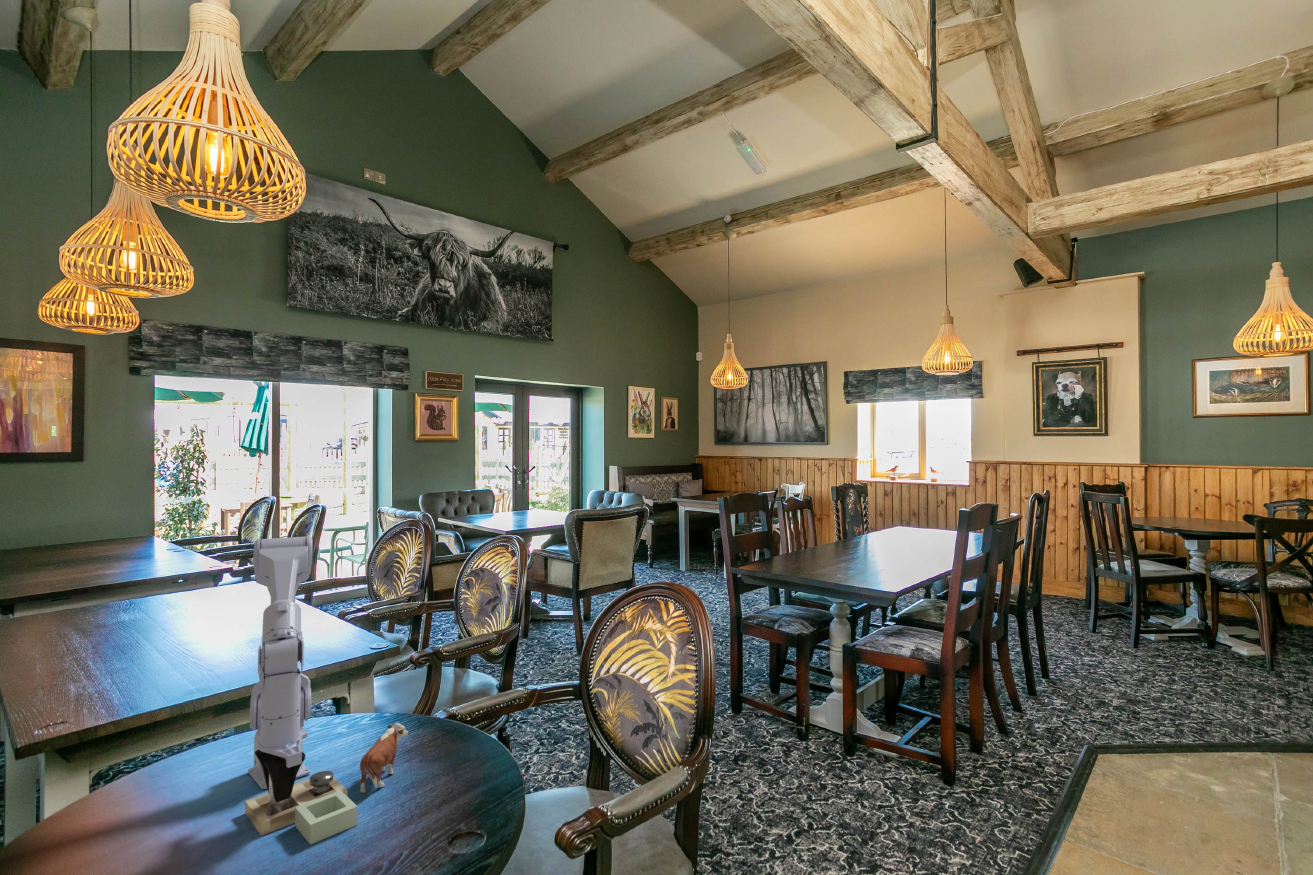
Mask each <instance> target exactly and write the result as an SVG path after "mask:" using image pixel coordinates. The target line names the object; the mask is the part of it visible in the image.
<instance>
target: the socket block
mask: <svg viewBox="0 0 1313 875" xmlns="http://www.w3.org/2000/svg"><path fill="white" fill-rule="evenodd" d="M313 789H314V786H311V785H310V778H307V779H304V780H301V781H299V782H296V783H295V782H294V786H293V790H292V794H291V797H290V809H287V810H284V811H282V812H279V813H276V814H274V815H271V816H268V814H269V792H268V793H265V794H264V793H263V794H261V795H258V796H256V797H253V798H250V799H247V800H245V802H244V805H245V806H244V813H245V815H246V816H247V818H248V819H249V821H250V822H251V824H252V825H253V827H254V828H255V829H256V831H257V832H258V834H259V835H260V836H264V835H267V834H269V833H272V832H275V831H277V830H279V829H283V828H284V827H287V826H290V825H293V824H295V807H297V806H300V805H303V804H305V803H308V802H310V801H313V800H316V799H318V798H321V797H324V796H326V795H329V794H332V793H334V792H337V791H340V790H341V791H342V792H343V793H344V794H345V795H346V796H347V797H348V789H347V788H346V787H345V786H343V785H342V784H341V783H340V782H339V781H338V780H337V779H336V778H334V776H333V780H332V781H331V782H330V783H329V792H327V793H324V794H321V795H319V796H316V797H314V796H313Z"/></svg>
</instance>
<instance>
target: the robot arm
mask: <svg viewBox="0 0 1313 875" xmlns="http://www.w3.org/2000/svg"><path fill="white" fill-rule="evenodd" d="M312 565H313V538H312V537H311V535H306V536H294V537H291V536H290V537H276V538H260V537H259V538H257V539H256V540H254V542H253V570H254V578H255V579H256V584H259V585H262V586H265V587H267V591H268V593H269V596H270V604H269V605H267V606H266V608H265V609H264V611H263V613H262V615H263V616H262V632H261V634H262V636H261V644H260V645H259V646H258V651H257V652H258V653H257V673H258V679H259V681H258V682H257V683H255V684H254V685H253V687H252V689H251V695H250V696H251V697H250V703H249V728H250V729H251V730H252V731H254V732H255V731H256V732H255V734H254V736H253V737H254V738H253V767H250V768H248V769H247V773H248V774H249V775H250V776H251V778H252V780H253V781H255V783H256V784H257V785H258V787H260V789H261V790H266V789H267V792H268V793H269V774H270V777H271V781H272V788H273V795H274V799H275V801H276V802H280V801H283V800H285V799H288V798H290V797H291V794H292V790H293V786H294V784H295V781H296V779H299V778H301V777H304V776H308V775H309V774H311V770H310V769H309V767H307V766H306V765H305V763H304V761H305V760H306V753H305V752H303V750H304V749H303V746H304V745H303V740H304V739H306V738H307V737H308V734H309V733H308V731H306V730H305V729H304V727H305V726H304V725H305V722H307V721H309V719H310V718H312V717H311V716H312V688H311V679H309V676H307V675H306V674H304V673H302V672H303V670H304V667H305V642H304V638H303V631H302V610H301V606H300V605H299V604H298V603H297V602H296V594H297V591H298V588H299V586H300V584H301V583H303V582H305V581H306V580H308V579H309V578H310V575H311V574H312V573H311V572H312ZM298 663H300V668H301V669H299V668H298V666H299V665H298Z"/></svg>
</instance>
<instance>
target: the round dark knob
mask: <svg viewBox="0 0 1313 875" xmlns="http://www.w3.org/2000/svg"><path fill="white" fill-rule="evenodd" d="M333 777H334V772H333V771H332V770H331V771H330V770H322V771H318V772H315V773H313V774H312V775H311V776H310V777H309V779H310V785H311V786H314V789H313V796H314V797H316V796H319V795H321V794H324V793H327V792H329V783H330V782H331V781H332V780H333Z"/></svg>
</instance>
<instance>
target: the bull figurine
mask: <svg viewBox="0 0 1313 875" xmlns="http://www.w3.org/2000/svg"><path fill="white" fill-rule="evenodd" d="M387 728H388V729H386V730H385V731H384V733H383V734H382V735H381V736H380V737H379V738H378V739H377V740H376V741H375V743H374V744H372V746H371V747H369V749H368V750H367V751H366V753H365V754H363V756H362V758H361V760H360V764H359V768H360V772H361V773H360V774H361V779H360V780H359V783H360V789H359V792H360V794H365V793H366V792H367V790H366V786H365V783H366V781H367V780H366V779H367V776H368V778H369V779H371V782H372V784H373V786H374V787H378V788H382V787H383V788H384V787H385V786H386V785H385V783H384V782H383V780H382V775H381V774H382V772H385V771H386V770H385V769H386V766H388V770H387V775H390V774H393V773H394V774H395V772H394V769H393V765H394V764H395V759H396V757H397V753H398V752H397V751H398V747H399V746H398V742H400V740H401V739H402V738H403V737H408V735H409V731H408V730H407V729H406V727H405V726H404V725H402V724H401V723H400V722H395V723H394V725H392V724H388V725H387ZM384 770H385V771H384ZM394 774H393V775H394Z"/></svg>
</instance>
